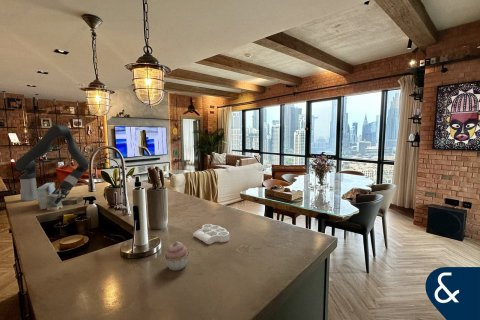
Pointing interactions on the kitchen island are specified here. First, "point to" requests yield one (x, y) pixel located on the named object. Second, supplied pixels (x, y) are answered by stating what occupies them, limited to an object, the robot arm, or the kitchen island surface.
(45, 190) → the snack box
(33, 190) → the robot arm
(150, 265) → the kitchen island surface
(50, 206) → the pallet crate
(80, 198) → the dock
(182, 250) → the cupcake
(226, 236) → the white paint palette
